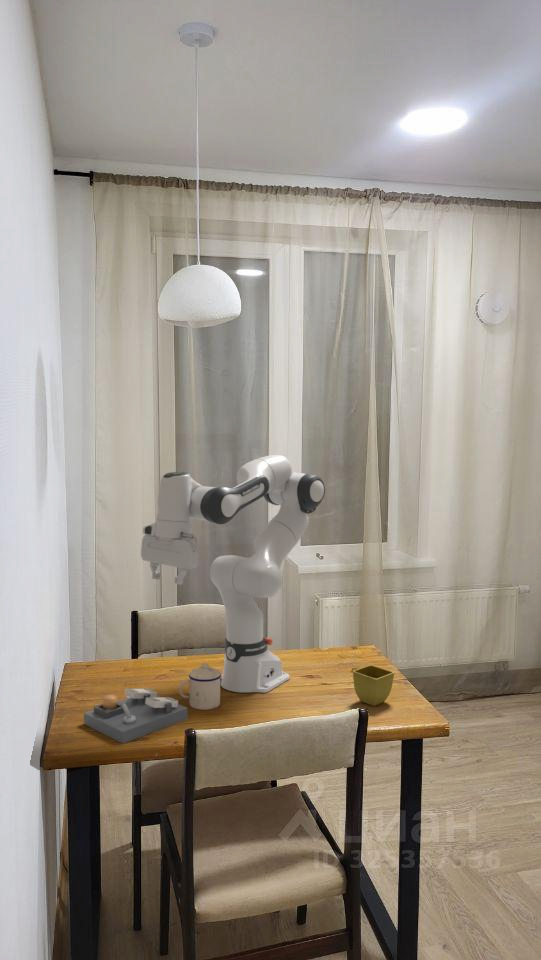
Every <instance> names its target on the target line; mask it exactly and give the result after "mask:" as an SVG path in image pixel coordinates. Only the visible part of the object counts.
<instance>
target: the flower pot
mask: <svg viewBox="0 0 541 960" xmlns="http://www.w3.org/2000/svg"><path fill="white" fill-rule="evenodd" d="M394 676H395V672H394V671H391V670H388V669H385V668H382V667H379V666H376V665H373V664H369V665H366V666H363V667H361V668H358V669H355V670H353V671H352V678H353V679H352V680H353V686H354V688H353V689H354V691H355V694H356V696H357V698H358V699H359V701H360V702H362V703H365V704H368V705H370V706H372V707H374V706H377V705H380V704H382V703H384V702H385V701H386V700H387V699H388V697H389V696H390V694H391V691H392V687H393V684H394V683H393V682H394V678H395V677H394Z"/></svg>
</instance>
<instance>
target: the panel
mask: <svg viewBox="0 0 541 960" xmlns="http://www.w3.org/2000/svg"><path fill="white" fill-rule="evenodd" d="M148 697H150V694H146V695H144V699H133V698H130V697H128V696H126V698H125V699H122V700H119V701H118V700H117V707H116V708H114V709H104V708H103V703H102V704H97V705H95V706H93V709H92V710H88V711H85V712H83V724H84V725H86V726H87V727H89V728H90V729H91V728H92V729H93V730H95V731H97V732H100V734H103V735H105V736H108V738H111V739H113V740H115V741H117V742H119V743H121V744H125V743H128V742H130V741H131V742H132V741H134V740H136V739H139V738H141V737H144V736H146V735H149V734H152V733H155V732H157V731H160V730H162V729H165V728H167V727H171V726H172V725H175V724H178V723H180V722H184V721H186V720H188V707H186V706H184V705H181V704H179V703H178V706H177V707H172V703H167V704H165V708H154V707H151V706H149V705H147V704H145V701H146V698H148ZM156 697H160V696H159V695H157V696H156Z"/></svg>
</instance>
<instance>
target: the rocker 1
mask: <svg viewBox="0 0 541 960" xmlns="http://www.w3.org/2000/svg"><path fill="white" fill-rule="evenodd" d="M146 694H150V697H153V698H154V697H156V696H158V692H157V691H155V690H152V689H150V688H125V690H124V695H125V696H126V697H127V696H128V697H130V698H133V699H144V695H146ZM128 697H127V698H128Z"/></svg>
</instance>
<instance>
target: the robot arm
mask: <svg viewBox="0 0 541 960" xmlns="http://www.w3.org/2000/svg"><path fill="white" fill-rule="evenodd" d="M236 484H237V485H236V486H234V487H232V488H230V487H226V486H225V487H224V486H223V487H222V486H217V487H216V486H205V485H202V484H200V483H198V482H197V481H195V479H193V478H192V477H191V474H190V473H189V472H186V471H172V472H168V473H165V474H163V475H162V477H161V480H160V483H159V487H158V492H157V493H158V494H157V507H158V508H157V509H158V510H157V513H156V518H155V522H153V523H150V524H149V525H145V526H144V527H142V534H143V535H144V536H143V537H142V539H141V549H140V557H141V559H142V561H146V562H149V567H150V570H151V572H152V573H151V578H152V579H153V580H160V579H161V575H162V574H161V572H160V571H159V566H160V565H165V566H170V567H173V568H177V572H178V574H177V575H176V577H174V584H175V585H179V586H180V585H183V584H184V579H185V576H186V575H187V573H188V570H196V569H197V568H198V566H199V545H198V539H197V537H196V536H195V534H193V533H189V532H188V529H189V519H191V520H196V521H202V522H209V523H213V524H215V525H216V524H217V525H226V524H227V523H229V522H230V521H232V520H233V518H235V516H237V514H238V513H239V512H240V511H242V510H243V509H244V508H246V507H247V506H249V505H251V504H253V503H255V502H257V501H258V500H259V499H261V498H264V500H265V501H266V502H267V503H269V504H271V505H273V506H280V507H279V510H278V512H277V514H276V515H274V516H273V518H272V519H271V520H270V521H268V522H267V524H266V525H265V526H264V527H263V529H262V530H260V532H259V533H258V534H257V535H256V536H255V537H254V539H253V547H254V551H255V553H253V555H252V556H250V557H245V556H240V555H235V554H228V555H227V554H226V555H220V556H217V557H216V558H215V559H213V562H212V563H211V566H210V570H209V578H210V580H211V582H212V583H213V585H214V586H215V587H216V588H217V591H218V592H219V594H220V596H221V600H222V603H223V607H224V611H225V617H226V618H225V619H226V620H225V621H226V622H225V623H226V626H225V627H226V638H225V641H224V651H225V653H224V661H223V671H222V673H221V677H220V687H222V688H223V689H224V690H227V691H228V692H229V691H230V692H234V693H264V694H266V693H269V692H270V691H272V690H273V689H275V688H276V687H278V686H280V685H282V684H283V683H285V682H287V681H288V680H290V679H291V676H290V675H289V674H288V672H285V671H283V664H282V661H281V659H280V658H279V657H278V656H277V655H275V654H274V653H272V651H270V650H269V649H268V647H267V645H268V646H272V644H273V642H274V641H273V638H269V637H264V614H263V611H262V610H261V609H260V608H259V607H258V605H257V603H256V601H255V600H254V598H255V599H258V598H259V599H268V598H270V599H271V598H273V597H275V596H277V594H278V593H279V592H280V591H281V589H282V586H283V577H284V576H283V573H282V570H281V566H282V563H283V562H284V561H285V559H286V557H288V555H289V554H290V552H291V551H292V550H293V549H294V548H295V547H296V545H298V543H299V541H300V539H302V536H303V535H304V533H305V532H306V529H307V528H308V526H309V516H308V514H312V513H314V512H315V511H316V509H317V507H319V506H320V504H321V503H322V501H323V499H324V498H325V494H326V488H325V483H324V481H323V479H322V478H321V477H319V476H318V475H316V474H313V473H303V472H295V471H293V467H292V465H291V462H290V460H289V459H288V458H287V457H286V456H283V455H281V454H271V455H269V454H268V455H265V456H261V457H258V458H255V459H253V460H250V461H248V462H247V463H244V464H243V465H242V466H241V467H240V468H239V469H238V472H237V474H236Z"/></svg>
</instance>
